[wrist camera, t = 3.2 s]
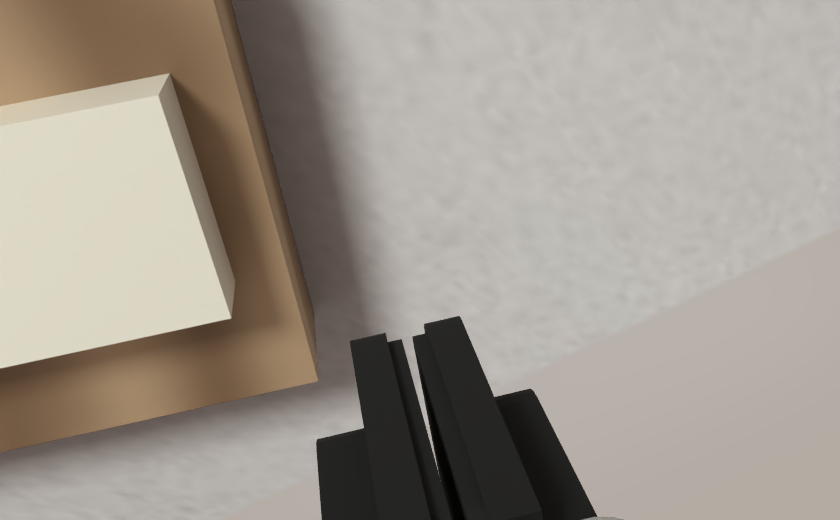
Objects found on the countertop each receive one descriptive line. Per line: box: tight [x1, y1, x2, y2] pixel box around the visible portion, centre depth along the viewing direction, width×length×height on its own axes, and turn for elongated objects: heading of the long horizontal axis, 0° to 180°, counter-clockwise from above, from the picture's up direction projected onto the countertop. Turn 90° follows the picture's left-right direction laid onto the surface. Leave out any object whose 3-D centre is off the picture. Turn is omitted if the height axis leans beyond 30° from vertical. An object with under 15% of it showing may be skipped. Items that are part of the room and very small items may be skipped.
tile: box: [0, 73, 235, 368], centre depth 19 cm, size 9×6×2 cm, turn 99°
